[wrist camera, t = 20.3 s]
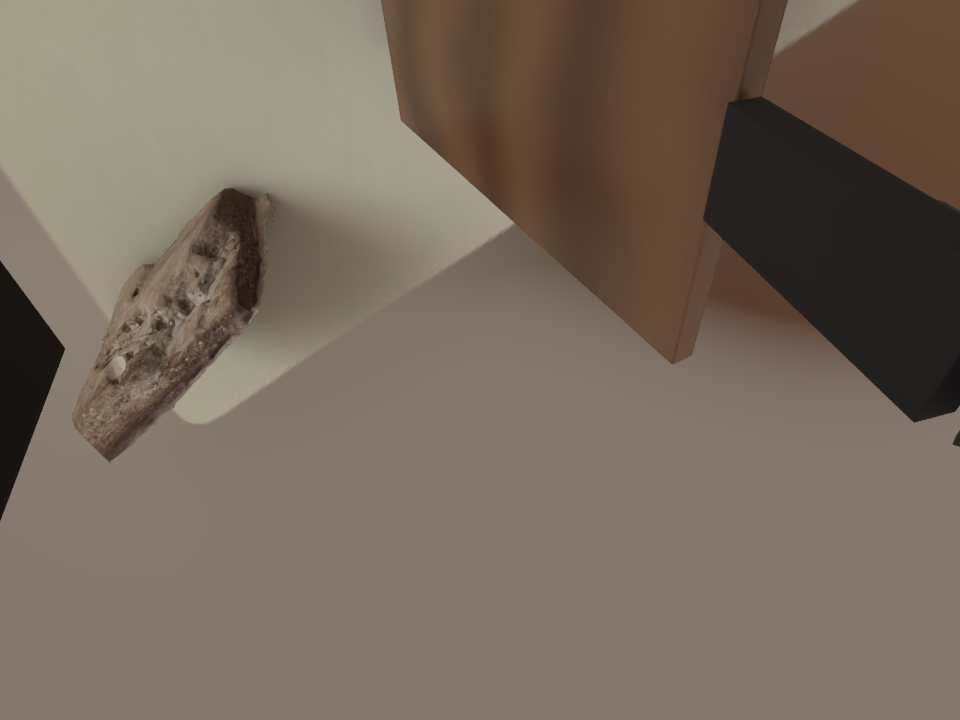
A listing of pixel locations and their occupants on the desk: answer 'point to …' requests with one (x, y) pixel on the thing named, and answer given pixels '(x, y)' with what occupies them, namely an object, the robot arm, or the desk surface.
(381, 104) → the desk surface
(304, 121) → the desk surface
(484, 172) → the lid
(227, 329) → the mineral sample
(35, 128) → the desk surface
